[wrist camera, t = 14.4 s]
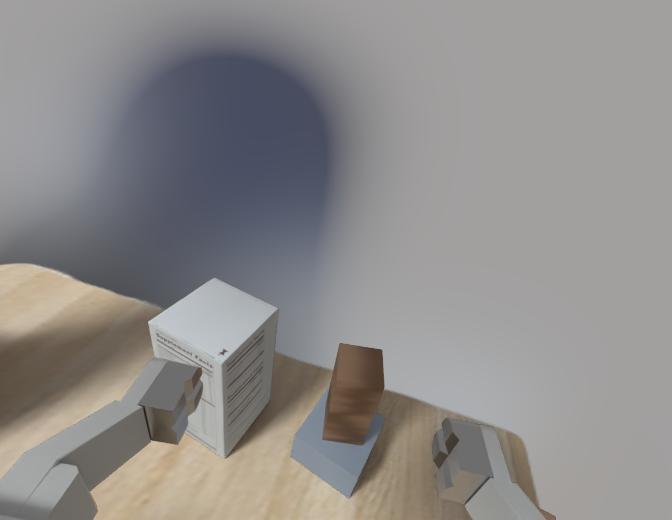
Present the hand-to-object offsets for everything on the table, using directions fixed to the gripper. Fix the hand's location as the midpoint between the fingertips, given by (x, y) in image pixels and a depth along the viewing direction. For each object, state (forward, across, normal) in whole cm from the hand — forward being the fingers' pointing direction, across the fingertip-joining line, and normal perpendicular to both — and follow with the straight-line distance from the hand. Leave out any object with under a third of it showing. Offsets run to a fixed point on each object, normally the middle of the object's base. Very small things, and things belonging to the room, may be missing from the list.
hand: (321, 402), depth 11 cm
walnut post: (+16, -4, +27) cm, 32 cm away
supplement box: (+18, +11, +32) cm, 38 cm away
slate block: (+16, -4, +32) cm, 36 cm away
